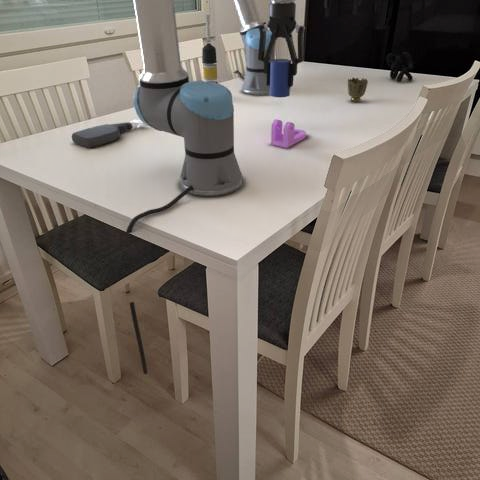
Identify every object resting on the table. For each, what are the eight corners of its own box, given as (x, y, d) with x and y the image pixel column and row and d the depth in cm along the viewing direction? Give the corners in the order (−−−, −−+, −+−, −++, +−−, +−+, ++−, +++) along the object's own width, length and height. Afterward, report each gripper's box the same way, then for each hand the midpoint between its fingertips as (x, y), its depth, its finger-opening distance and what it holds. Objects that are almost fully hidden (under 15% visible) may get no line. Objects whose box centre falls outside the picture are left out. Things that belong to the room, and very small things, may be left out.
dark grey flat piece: (70, 142, 137) (133, 123, 153) (90, 149, 131) (154, 129, 147) (68, 132, 136) (131, 115, 152) (89, 139, 130) (153, 120, 146)
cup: (343, 102, 170) (345, 80, 166) (348, 97, 176) (350, 76, 172) (362, 104, 167) (365, 82, 163) (367, 99, 173) (370, 78, 169)
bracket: (287, 148, 130) (288, 124, 126) (271, 144, 133) (271, 121, 129) (309, 135, 139) (310, 113, 135) (293, 132, 142) (294, 110, 138)
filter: (220, 99, 177) (217, 15, 161) (206, 100, 176) (202, 16, 160) (215, 96, 182) (212, 14, 166) (202, 97, 180) (197, 14, 164)
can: (293, 95, 140) (295, 61, 134) (276, 98, 137) (277, 63, 132) (282, 91, 145) (283, 58, 139) (265, 94, 142) (266, 60, 137)
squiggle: (400, 92, 202) (376, 71, 205) (417, 76, 202) (392, 56, 205) (405, 81, 191) (380, 59, 194) (423, 64, 191) (397, 42, 194)
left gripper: (318, 1, 127) (312, 85, 139) (254, 0, 133) (254, 80, 145) (313, 3, 121) (307, 90, 133) (246, 2, 127) (246, 86, 139)
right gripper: (324, -45, 168) (320, 18, 179) (379, -46, 176) (371, 14, 187) (314, -44, 174) (310, 16, 185) (367, -45, 182) (361, 13, 193)
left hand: (279, 85), depth 139 cm, fingers closed on can, 6 cm apart
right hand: (341, 15), depth 186 cm, fingers open, 13 cm apart
